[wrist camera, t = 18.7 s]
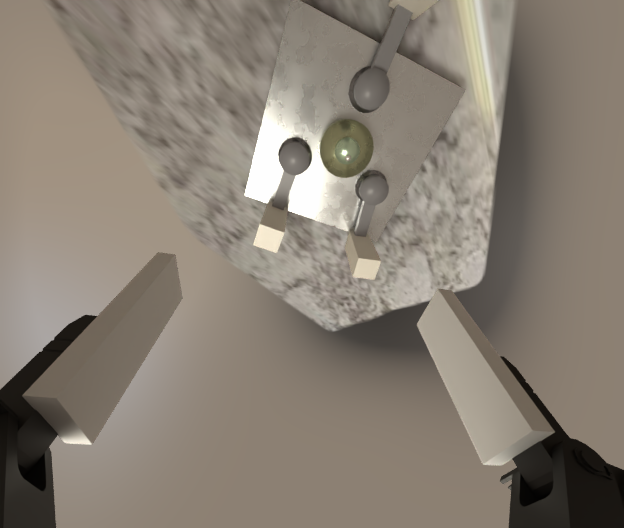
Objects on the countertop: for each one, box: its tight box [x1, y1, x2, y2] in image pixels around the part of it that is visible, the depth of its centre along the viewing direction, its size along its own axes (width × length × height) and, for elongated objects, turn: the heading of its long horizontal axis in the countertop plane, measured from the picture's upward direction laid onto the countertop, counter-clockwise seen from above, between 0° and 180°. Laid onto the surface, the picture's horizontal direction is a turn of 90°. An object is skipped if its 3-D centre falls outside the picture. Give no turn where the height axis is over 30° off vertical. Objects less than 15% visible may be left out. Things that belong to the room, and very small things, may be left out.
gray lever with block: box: [353, 0, 439, 110], centre depth 25 cm, size 13×4×9 cm, turn 159°
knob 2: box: [345, 174, 389, 280], centre depth 36 cm, size 13×4×9 cm, turn 171°
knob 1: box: [253, 141, 309, 253], centre depth 33 cm, size 13×4×9 cm, turn 158°
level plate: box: [245, 0, 465, 242], centre depth 34 cm, size 23×23×6 cm
